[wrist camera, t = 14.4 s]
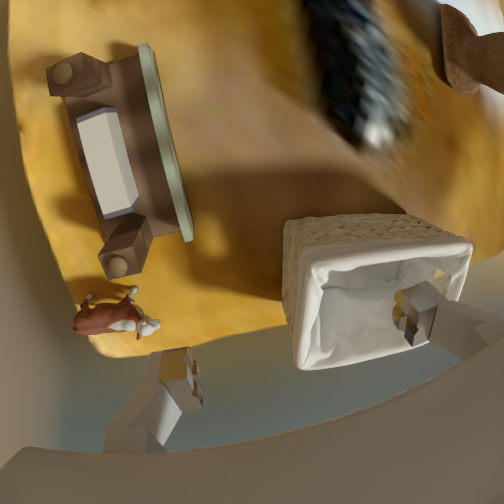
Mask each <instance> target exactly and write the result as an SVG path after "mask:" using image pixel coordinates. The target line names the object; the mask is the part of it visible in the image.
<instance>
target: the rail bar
mask: <svg viewBox="0 0 504 504" xmlns="http://www.w3.org/2000/svg"><path fill="white" fill-rule="evenodd" d="M76 121H77V125H78V130H79V134H80V138H81V142H82V146H83V150H84V153H85V157H86V161H87V164H88V168H89V171H90V175H91V178H92V182H93V185H94V188H95V191H96V194H97V198H98V201H99V204H100V207H101V210H102V213H103V216H104V219H105V220H106V219H109V218H113V217H116V216H119V215H123V214H126V213H130V212H133V210H134V209H135V207H136V206H137V204H138V203H139V201H140V198H139V195H138V191H137V188H136V185H135V181H134V178H133V174H132V170H131V167H130V163H129V159H128V155H127V152H126V148H125V144H124V140H123V136H122V132H121V127H120V123H119V119H118V114H117V110H116V108H106V107H104V108H102V109H99V110H96V111H94V112H91V113H89V114H86V115H84V116H81V117H79V118H76Z"/></svg>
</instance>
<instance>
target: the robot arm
mask: <svg viewBox="0 0 504 504" xmlns="http://www.w3.org/2000/svg"><path fill="white" fill-rule="evenodd" d="M394 301H395V302H396V305H395V306H394V308H393V311H392V317H393V322H394V324H395V326H396V327H397V329H398V330H400V331H403V332H404V338H405V339H406V340H407V341H408V343H409V344H410V345H411V347H414V346H416V345H419V344H421V343H423V342H426V341H428V340H429V342H431V343H433V344H434V345H436V346H439V347H440V348H442V349H444V350H446V351H448V352H450V353H452V354H454V355H456V356H458V357H460V358H462V361H461V362H460V363H459V364H457V365H455V366H453V367H451V368H449V369H448V370H446V371H444V372H442V373H440V374H438V375H436V376H434V377H432V378H430V379H428V380H426V381H425V382H422V383H421V384H418V385H416V386H414V387H412V388H410V389H408V390H406V391H404V392H401V393H399V394H397V395H394V396H392V397H390V398H387V399H385V400H383V401H380V402H378V403H375V404H373V405H370V406H368V407H365V408H362V409H360V410H357V411H354V412H351V413H349V414H346V415H343V416H340V417H337V418H334V419H331V420H328V421H325V422H321V423H318V424H315V425H311V426H308V427H305V428H301V429H297V430H293V431H290V432H285V433H282V434H277V435H273V436H269V437H264V438H259V439H255V440H250V441H245V442H239V443H233V444H228V445H221V446H215V447H207V448H201V449H192V450H181V451H171V452H168V451H167V450H166V449H165V448H164V447H163V445H164V443H165V441H166V440H167V438H168V436H169V434H170V433H171V431H172V429H173V428H174V426H175V424H176V422H177V420H178V419H179V417H180V415H181V414H182V411H188V410H194V409H199V408H203V395H202V392H201V390H200V387H201V385H202V378H201V373H200V369H199V366H198V364H197V362H196V361H195V360H193V353H192V351H191V349H190V347H183V348H176V349H170V350H163V351H159V352H151V354H150V355H149V360H148V367H147V375H146V382H145V385H142V386H141V387H140V388H139V389H138V390H137V392H136V393H135V394H134V395H133V396H132V397H131V399H130V400H129V401H128V402H127V403H126V404H125V406H124V407H123V408H122V409H121V410H120V412H119V413H118V414H117V415H116V416H115V417H114V418H113V420H112V421H111V422H110V423H109V424H108V425H107V428H106V433H105V440H104V446H103V453H86V452H71V451H60V450H51V449H44V448H37V447H24V448H22V449H21V450H20V451H18V452H17V453H16V454H15V455H14V456H13V457H12V458H11V459H10V460H9V461H8V462H7V463H6V464H5V465H4V466H3V467H2V468H1V469H0V504H504V320H503V319H501V318H500V317H499V316H498V315H497V314H496V313H493V312H490V311H486V310H483V309H480V308H477V307H473V306H470V305H467V304H464V303H461V302H457V301H454V300H450V301H449V300H448V299H447V298H446V297H444V296H443V295H442V294H441V293H440V292H439V291H438V290H437V289H436V288H435V287H434V286H433V285H431V284H430V283H429V282H428V281H423V282H421V283H418V284H416V285H413V286H410V287H408V288H405V289H402V290H399V291H396V293H395V295H394Z"/></svg>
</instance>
